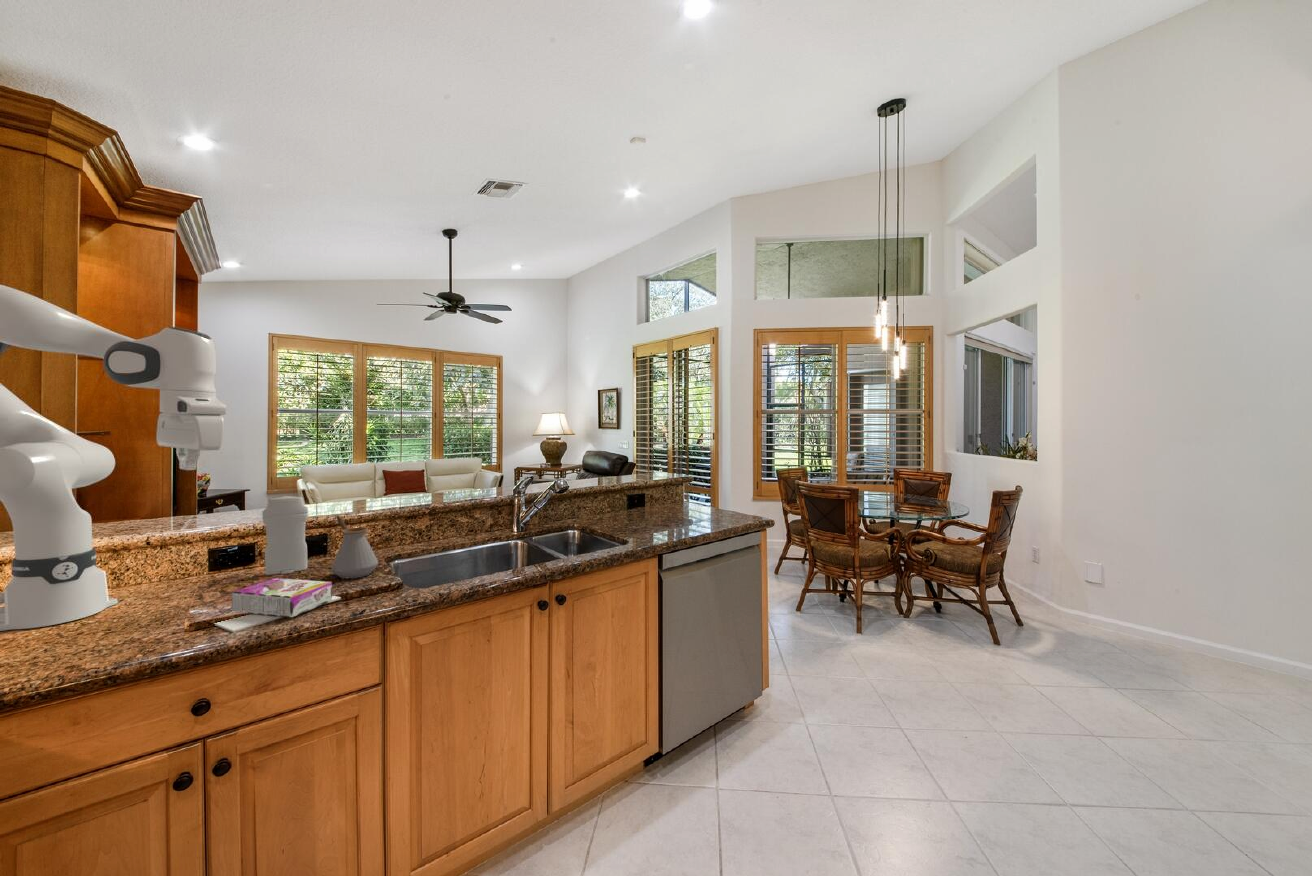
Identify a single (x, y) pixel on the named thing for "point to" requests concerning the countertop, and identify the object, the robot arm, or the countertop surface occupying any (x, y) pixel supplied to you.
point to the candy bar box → (282, 597)
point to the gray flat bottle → (285, 535)
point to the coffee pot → (354, 554)
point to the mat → (251, 620)
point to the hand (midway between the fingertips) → (187, 469)
